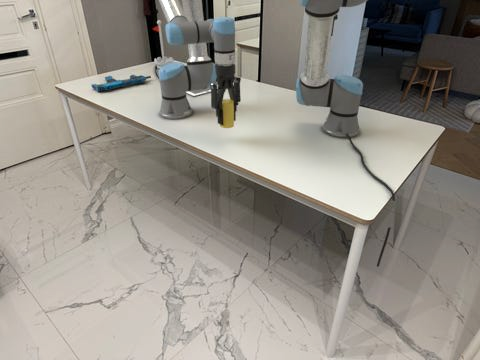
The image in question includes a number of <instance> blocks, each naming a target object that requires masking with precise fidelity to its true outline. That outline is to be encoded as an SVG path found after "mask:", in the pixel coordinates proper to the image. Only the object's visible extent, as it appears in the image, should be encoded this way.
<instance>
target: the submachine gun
mask: <svg viewBox="0 0 480 360" xmlns="http://www.w3.org/2000/svg"><path fill="white" fill-rule="evenodd" d="M151 78H152V76H151V75H147V76H145V75H135V74H130V75H129V78H126V79H118V80H117V79H115V78H113V76H112V75H108V76H105V77H104V80H105V81H106V82H105V83H100V84H97V83H91V84H90V85H91V88H92V89H93V90H95V91H96V92H103V91H109V92H111V91H112V89H117V88H122V87H126V86H130V85H136V84H141V83H145V82H146V81H147V79H151Z"/></svg>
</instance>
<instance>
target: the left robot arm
mask: <svg viewBox="0 0 480 360" xmlns="http://www.w3.org/2000/svg"><path fill="white" fill-rule="evenodd" d="M158 2H159V4H160V7H161V10H162V12H163V15H164V17H165V19H166V22H167V23H166V24H165V36H166V41H167V43H168V44H169V45H170V46H185V45H187V49H188V56H189V57H188V59H186V65H184V63H183V62H179V61H178V62H176V61H175V62H173V63H169V64H166V65H164V66H162V67H161V68H160V69H159V68H158V69H159V70H158V72H157V65H156V64H155V67H154V73H155V75H156V77H157V78H158V79H159V84H160V93H161V102H160V108H159V114H160V116H161V117H162V118H164V119H167V120H179V119H185V118H188V117H190V116H191V115H192V107H191V104H190V102H189V100H188V97H187V93H186V92H187V91H194V90H202V89H209V88H211V92H210V107H211V109H213V110H215V116H216V117H217V118H216V119H217V124H218V125H219V126H220V125H223V109H221V107H222V102H223V99H224V95H225V93H226V91H227V92H228V97H229V99H230V100H233V101H234V122H235V121H237V120H236V119H237V118H236V117H237V116H236V113H237V109H238V108H237V106H238V105H239V103H241V100H242V99H241V81H242V78H241V77H239V76H237V75H236V64H235V63H236V24H235V23H236V22H235V19H234V18H233V17H229V16H218V17H215V18H209V19H207V20H205V19H204V10H203V0H181V1H180V0H158ZM181 2H182V3H181ZM208 43H213V44H214V45H213V49H214V62H212V58H211V57H209V55H208V46H207V44H208ZM217 88H218V89H217Z"/></svg>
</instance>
